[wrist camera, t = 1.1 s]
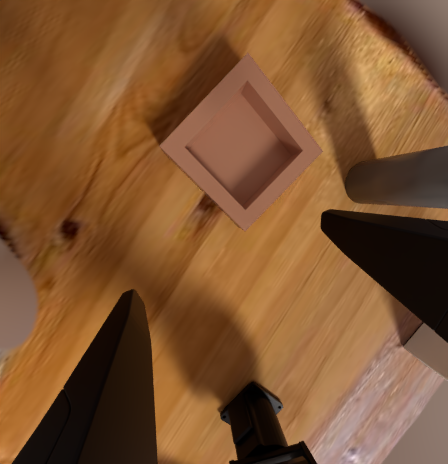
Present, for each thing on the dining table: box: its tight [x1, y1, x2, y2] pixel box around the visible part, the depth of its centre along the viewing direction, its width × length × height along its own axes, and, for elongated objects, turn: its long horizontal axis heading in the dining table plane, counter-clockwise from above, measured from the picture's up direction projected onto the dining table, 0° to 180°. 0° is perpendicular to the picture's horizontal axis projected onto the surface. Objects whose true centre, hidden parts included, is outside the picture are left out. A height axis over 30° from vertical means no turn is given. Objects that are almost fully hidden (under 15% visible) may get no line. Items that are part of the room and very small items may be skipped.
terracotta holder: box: [160, 53, 323, 231], centre depth 20 cm, size 11×11×3 cm
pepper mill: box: [345, 146, 448, 209], centre depth 18 cm, size 5×5×13 cm
